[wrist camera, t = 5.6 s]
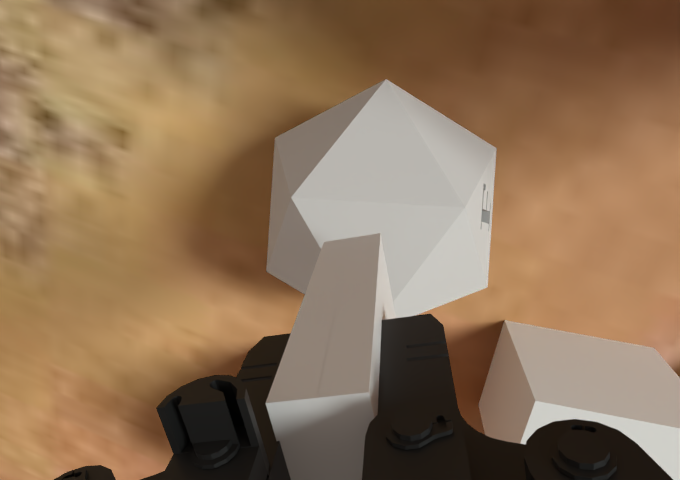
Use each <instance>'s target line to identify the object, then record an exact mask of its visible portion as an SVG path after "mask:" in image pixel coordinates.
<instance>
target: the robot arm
mask: <svg viewBox="0 0 680 480" xmlns="http://www.w3.org/2000/svg"><path fill="white" fill-rule="evenodd" d="M241 368H242V370H240V371H239V373H238V375H237V377H236V378H235V377H233V376H230V375H214V376H210V377H205V378H201V379H197V380H195V381H193V382H191V383H188V384H186V385H184V386H181V387H180V388H179V389H177V390H176V391H174V392H173V393H171V394H170V395H168V396H167V397H166V398H165V399H164V400H163V401H162V402H161V403H160V405H159V406H158V407H157V408H156V409H157V411H158V414H159V417H160V419H161V422H162V425H163V427H164V430H165V432H166V435H167V438H168V440H169V443H170V446H171V448H172V451H173V453H174V455H173V457H172V459H171V460H170V462H169V464H168V466H167V468H166V470H165V471H163V472H161V473H158V474H156V475H153V476H150V477H147V478H144V479H141V480H673V479H672V478H671V477H670V476H669V475H668V474H667V473H666V472H665V471H664V470H663V469H662V468H661V467H660V466H659V465H658V464H657V463H656V462H655V461H654V460H653V459H652V458H651V457H650V456H649V455H648V454H647V453H646V452H645V451H644V450H643V449H642V448H641V447H640V446H639V445H638V444H637V443H636V442H634V441H633V440H632V439H630V438H629V437H627V436H626V435H625V434H623V433H622V432H621V431H619V430H617V429H614V428H612V427H609V426H607V425H604V424H601V423H599V422H594V421H586V420H579V419H570V420H561V421H554V422H551V423H549V424H547V425H545V426H542V427H540V428H538V429H537V430H536V431H535V432H534V433H533V434H532V435H531V436H530V437H529V439H528V440H527V441H526V444H520V443H513V442H507V441H503V440H498V439H494V438H491V437H488V436H486V435H484V434H482V433H479V432H478V431H476V430H475V429H473V428H472V427H471V426H469V425H468V424H467V423H466V421H465V420H464V419H463V418H462V416H461V414H460V412H459V409H458V406H457V400H456V394H455V389H454V383H453V378H452V372H451V366H450V361H449V356H448V350H447V344H446V339H445V333H444V327H443V325H442V324H441V323H440V322H439V321H438V320H437V319H436V318H435V317H433V316H432V315H431V314H425V315H417V316H409V317H401V318H396V315H395V310H394V304H393V299H392V293H391V288H390V282H389V277H388V272H387V266H386V261H385V255H384V250H383V244H382V239H381V233H378V234H371V235H365V236H359V237H352V238H346V239H339V240H333V241H326V242H324V243H323V246H322V249H321V251H320V254H319V257H318V260H317V262H316V265H315V268H314V271H313V273H312V276H311V279H310V282H309V284H308V287H307V290H306V293H305V296H304V298H303V301H302V304H301V307H300V309H299V312H298V315H297V318H296V320H295V323H294V326H293V329H292V331H291V333H290V334H282V335H275V336H267V337H264V338H263V339H262V340H260V341H259V342H258V343H257V344H256V345H255V346H254V347H253V348H252V349H251V350H250V351H249V352H248V354H247V356H246V358H245V360H244V362H243V364H242V367H241ZM54 480H116V479H115V477H114V475H113V473H112V471H111V469H108V468H106V467H103V466H101V465H98V466H85V467H82V468H78V469H75V470H72V471H69V472H67V473H64V474H63V475H61V476H59V477H58V478H56V479H54Z"/></svg>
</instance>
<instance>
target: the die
mask: <svg viewBox="0 0 680 480" xmlns="http://www.w3.org/2000/svg"><path fill="white" fill-rule="evenodd" d="M496 149H497V148H495V147H494V146H492V145H491V144H489V143H487V142H486V141H484V140H483V139H481V138H479V137H478V136H476V135H475V134H473V133H471V132H470V131H468V130H467V129H465V128H463V127H462V126H460V125H459V124H457V123H455V122H454V121H452V120H451V119H449V118H448V117H446V116H444V115H443V114H441V113H440V112H438V111H436V110H435V109H433V108H432V107H430V106H428V105H427V104H425V103H424V102H422V101H420V100H419V99H417V98H416V97H414V96H412V95H411V94H409V93H408V92H406V91H404V90H403V89H401V88H400V87H398V86H396V85H395V84H393V83H392V82H390V81H388V80H387V79H385V80H383V81H381V82H379V83H378V84H376V85H374V86H372V87H370V88H368V89H366V90H364V91H362V92H361V93H359V94H357V95H355V96H353V97H351V98H349V99H347V100H345V101H343V102H342V103H340V104H338V105H336V106H334V107H332V108H330V109H328V110H326V111H325V112H323V113H321V114H319V115H317V116H315V117H313V118H311V119H309V120H308V121H306V122H304V123H302V124H300V125H298V126H296V127H294V128H292V129H290V130H289V131H287V132H285V133H283V134H281V135H279V136H277V137H275V145H274V160H273V175H272V191H271V206H270V221H269V237H268V252H267V267H266V272H268V273H270V274H271V275H273V276H275V277H276V278H278V279H280V280H281V281H283V282H285V283H286V284H288V285H290V286H291V287H293V288H295V289H296V290H298V291H300V292H301V293H303V294H305V293H306V290H307V287H308V284H309V282H310V279H311V276H312V273H313V271H314V268H315V265H316V262H317V260H318V257H319V254H320V251H321V249H322V246H323V243H324V242H326V241H333V240H339V239H346V238H352V237H359V236H365V235H371V234H378V233H381V239H382V244H383V250H384V255H385V261H386V266H387V272H388V277H389V282H390V288H391V293H392V299H393V304H394V310H395V315H396V318H401V317H409V316H415V315H418V314H420V313H423V312H426V311H428V310H431V309H433V308H436V307H438V306H441V305H443V304H446V303H449V302H451V301H454V300H456V299H459V298H461V297H464V296H467V295H469V294H472V293H474V292H477V291H479V290H482V289H484V288H487V286H488V271H489V255H490V240H491V225H492V210H493V194H494V179H495V164H496Z"/></svg>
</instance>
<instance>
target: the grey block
mask: <svg viewBox="0 0 680 480" xmlns="http://www.w3.org/2000/svg"><path fill="white" fill-rule="evenodd" d="M478 405H479V410H480V414H481V419H482V424H483V428H484V433H485V435H486V436H488V437H491V438H494V439H498V440H503V441H507V442H513V443H520V444H526V441H527V440H528V439H529V437H530V436H531V435H532V434H533V433H534V432H535V431H536V430H537V429H538V428H540V427H542V426H545V425H547V424H549V423H551V422H554V421H561V420H570V419H579V420H586V421H594V422H599V423H601V424H604V425H607V426H609V427H612V428H614V429H617V430H619V431H621V432H622V433H623V434H625V435H626V436H627V437H629V438H630V439H632V440H633V441H634V442H636V443H637V444H638V445H639V446H640V447H641V448H642V449H643V450H644V451H645V452H646V453H647V454H648V455H649V456H650V457H651V458H652V459H653V460H654V461H655V462H656V463H657V464H658V465H659V466H660V467H661V468H662V469H663V470H664V471H665V472H666V473H667V474H668V475H669V476H670V477H671V478H672V479H673V480H680V378H679V377H678V375H677V374H676V373H675V372H674V371H673V370H672V368H671V367H670V366H669V365H668V364H667V362H666V361H665V360H664V359H663V358H662V356H661V355H660V354H659V353H658V352H657V351H656V349H655V348H652V347H647V346H641V345H636V344H631V343H625V342H620V341H614V340H609V339H604V338H598V337H593V336H587V335H582V334H577V333H571V332H566V331H560V330H555V329H550V328H544V327H539V326H533V325H528V324H523V323H517V322H512V321H506V320H504V324H503V327H502V330H501V333H500V337H499V340H498V343H497V346H496V349H495V353H494V356H493V359H492V362H491V366H490V369H489V372H488V375H487V379H486V382H485V385H484V388H483V392H482V395H481V398H480V401H479V404H478Z"/></svg>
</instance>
